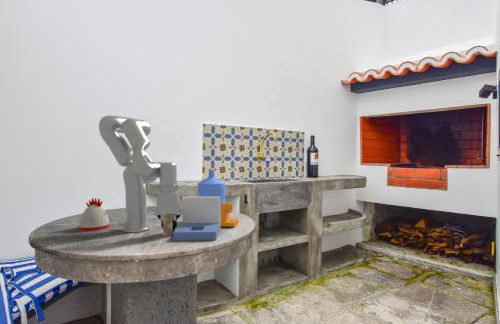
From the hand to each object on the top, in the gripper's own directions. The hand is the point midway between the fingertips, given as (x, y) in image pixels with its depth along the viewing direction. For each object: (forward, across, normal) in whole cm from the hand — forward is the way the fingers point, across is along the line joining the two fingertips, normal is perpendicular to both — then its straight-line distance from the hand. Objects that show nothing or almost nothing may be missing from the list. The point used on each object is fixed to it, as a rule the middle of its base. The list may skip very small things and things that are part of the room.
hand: (169, 228), depth 141 cm
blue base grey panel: (+3, +14, -1) cm, 14 cm away
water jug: (+3, +16, +32) cm, 36 cm away
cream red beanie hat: (+2, -41, +14) cm, 44 cm away
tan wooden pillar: (+3, 0, 0) cm, 3 cm away
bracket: (+3, +27, +17) cm, 32 cm away
